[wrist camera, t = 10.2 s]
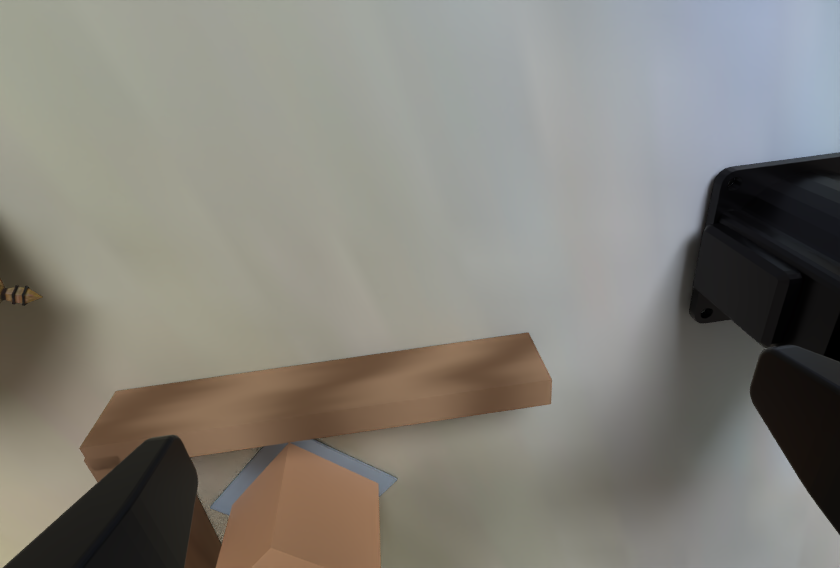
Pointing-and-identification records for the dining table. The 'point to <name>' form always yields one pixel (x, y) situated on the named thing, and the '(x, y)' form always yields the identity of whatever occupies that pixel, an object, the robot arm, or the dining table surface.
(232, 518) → the cube
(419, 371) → the arena
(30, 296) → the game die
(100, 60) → the dining table surface
